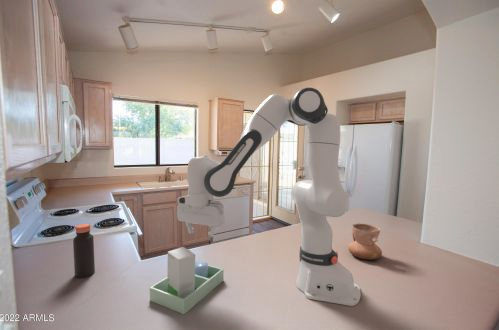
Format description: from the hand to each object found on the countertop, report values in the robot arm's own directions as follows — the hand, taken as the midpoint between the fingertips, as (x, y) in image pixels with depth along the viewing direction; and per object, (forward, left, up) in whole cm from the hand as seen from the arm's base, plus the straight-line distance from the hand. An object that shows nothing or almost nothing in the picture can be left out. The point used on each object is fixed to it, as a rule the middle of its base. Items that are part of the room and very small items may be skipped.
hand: (200, 234), depth 93 cm
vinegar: (+45, +18, -18) cm, 52 cm away
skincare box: (0, +11, -18) cm, 21 cm away
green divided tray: (0, +7, -18) cm, 19 cm away
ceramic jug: (-55, -54, -18) cm, 79 cm away
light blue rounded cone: (0, 0, -18) cm, 18 cm away
